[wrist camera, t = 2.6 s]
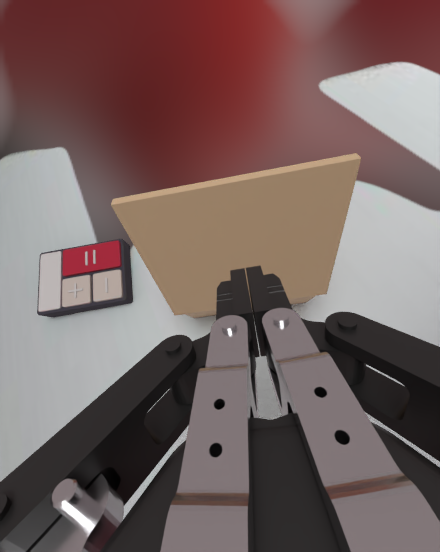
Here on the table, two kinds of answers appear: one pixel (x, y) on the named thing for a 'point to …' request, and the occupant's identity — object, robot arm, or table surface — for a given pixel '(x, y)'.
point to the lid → (243, 230)
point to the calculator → (84, 278)
